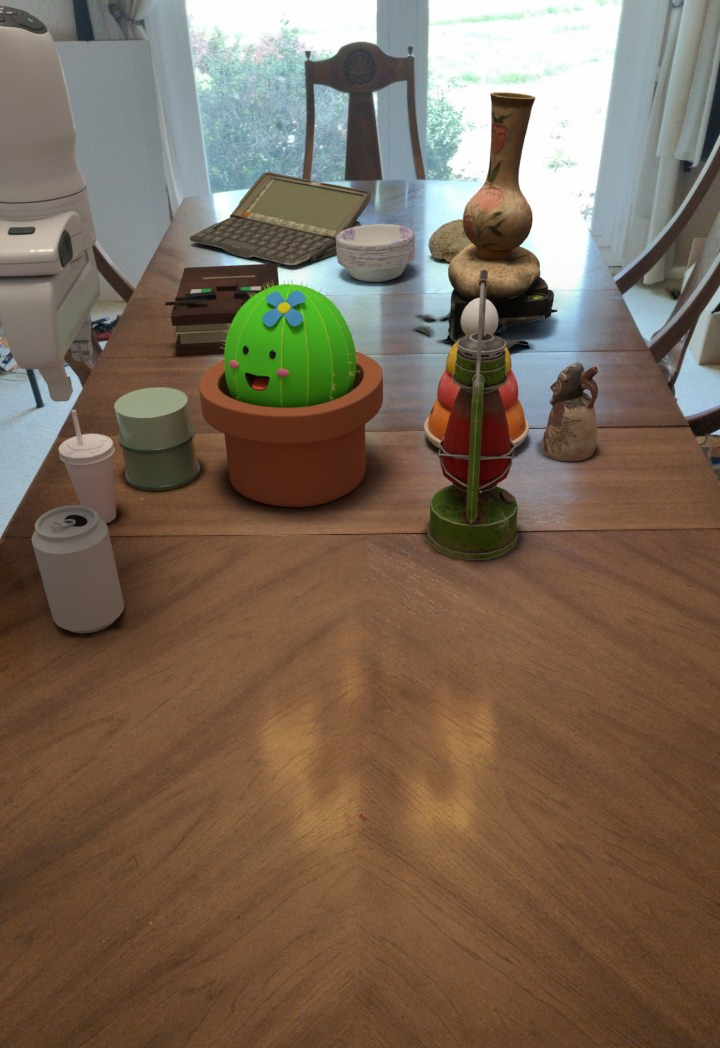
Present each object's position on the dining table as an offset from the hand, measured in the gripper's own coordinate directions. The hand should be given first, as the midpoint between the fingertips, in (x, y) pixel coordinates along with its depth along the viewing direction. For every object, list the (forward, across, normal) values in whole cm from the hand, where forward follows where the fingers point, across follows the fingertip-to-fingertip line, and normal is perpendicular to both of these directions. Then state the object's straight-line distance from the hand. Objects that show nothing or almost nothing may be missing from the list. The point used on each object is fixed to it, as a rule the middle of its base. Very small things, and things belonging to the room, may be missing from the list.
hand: (73, 377), depth 94 cm
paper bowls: (+24, -106, +32) cm, 114 cm away
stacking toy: (+24, -33, +43) cm, 60 cm away
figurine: (+24, -29, +55) cm, 67 cm away
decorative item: (+24, -115, +49) cm, 128 cm away
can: (+24, +5, -2) cm, 25 cm away
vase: (+24, -76, +51) cm, 95 cm away
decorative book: (+24, -80, +6) cm, 84 cm away
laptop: (+24, -130, +12) cm, 133 cm away
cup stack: (+24, -26, +1) cm, 36 cm away
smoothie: (+24, -16, -5) cm, 29 cm away
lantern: (+24, -8, +40) cm, 48 cm away
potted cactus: (+24, -24, +19) cm, 40 cm away
